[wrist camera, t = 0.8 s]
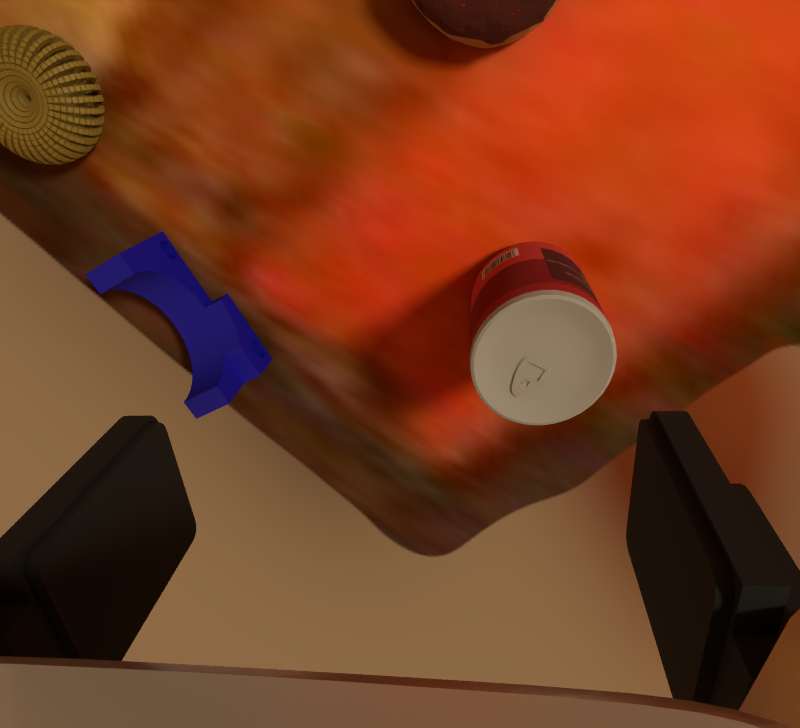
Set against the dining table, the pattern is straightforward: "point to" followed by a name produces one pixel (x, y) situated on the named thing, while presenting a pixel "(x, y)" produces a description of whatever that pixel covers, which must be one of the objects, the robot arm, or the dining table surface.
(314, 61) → the dining table surface
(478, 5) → the donut
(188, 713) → the robot arm
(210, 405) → the blue pipe cradle
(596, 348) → the canned food
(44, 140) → the sculpture
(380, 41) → the dining table surface
